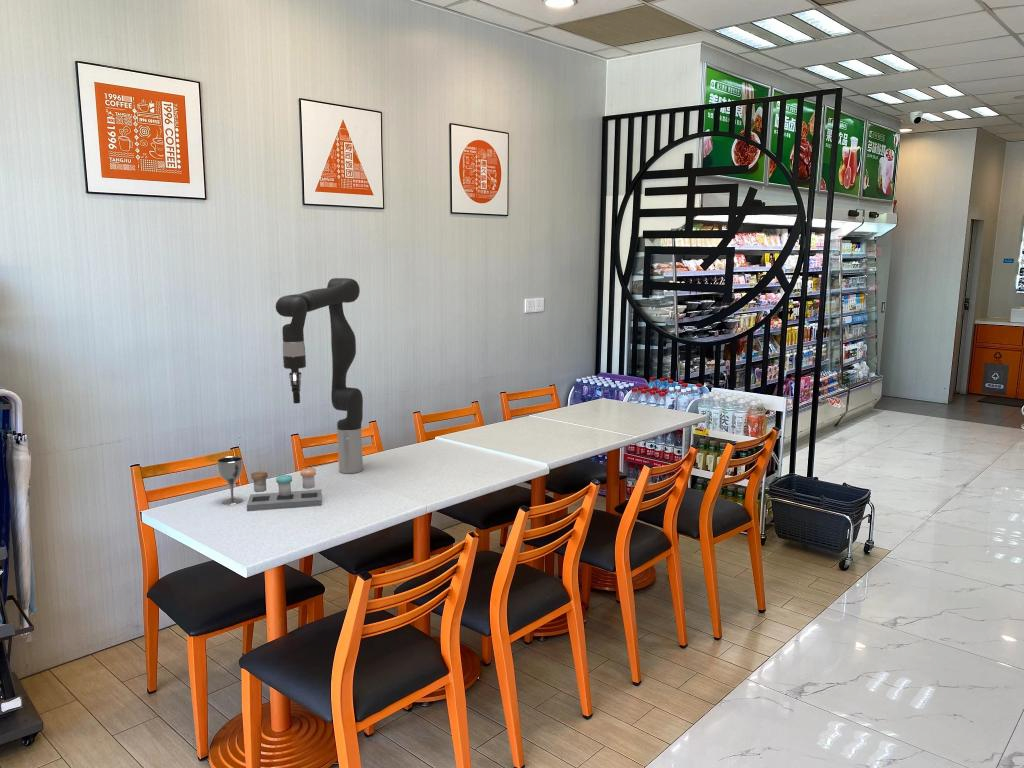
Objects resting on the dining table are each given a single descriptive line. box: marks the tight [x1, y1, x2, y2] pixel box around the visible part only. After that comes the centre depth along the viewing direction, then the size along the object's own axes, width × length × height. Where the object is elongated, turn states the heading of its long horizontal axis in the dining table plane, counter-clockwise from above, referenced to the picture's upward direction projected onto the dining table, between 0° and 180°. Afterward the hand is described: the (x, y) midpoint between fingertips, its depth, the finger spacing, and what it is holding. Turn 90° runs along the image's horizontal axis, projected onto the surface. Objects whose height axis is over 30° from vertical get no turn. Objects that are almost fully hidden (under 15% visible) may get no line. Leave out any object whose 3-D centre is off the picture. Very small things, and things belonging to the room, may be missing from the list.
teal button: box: [275, 474, 293, 496], centre depth 264 cm, size 5×5×6 cm
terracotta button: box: [299, 467, 317, 490], centre depth 265 cm, size 5×5×6 cm
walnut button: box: [250, 470, 268, 493], centre depth 262 cm, size 5×5×6 cm
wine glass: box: [217, 455, 244, 506], centre depth 265 cm, size 8×8×15 cm
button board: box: [246, 489, 322, 512], centre depth 265 cm, size 12×24×2 cm, turn 103°
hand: (296, 402), depth 270 cm, fingers closed
